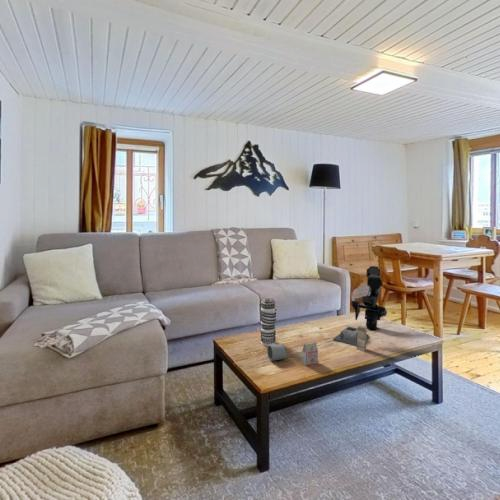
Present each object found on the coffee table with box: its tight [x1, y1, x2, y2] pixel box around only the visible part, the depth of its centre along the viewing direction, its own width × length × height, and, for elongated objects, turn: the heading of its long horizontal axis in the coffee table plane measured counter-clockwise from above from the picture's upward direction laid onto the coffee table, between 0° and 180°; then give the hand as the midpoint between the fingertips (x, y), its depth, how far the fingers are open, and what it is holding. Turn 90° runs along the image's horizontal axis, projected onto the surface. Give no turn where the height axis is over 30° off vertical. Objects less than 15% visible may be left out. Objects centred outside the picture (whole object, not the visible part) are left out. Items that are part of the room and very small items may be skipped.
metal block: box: [356, 324, 368, 352], centre depth 175 cm, size 4×4×12 cm
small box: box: [301, 341, 319, 367], centre depth 160 cm, size 4×7×10 cm, turn 113°
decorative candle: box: [259, 297, 277, 347], centre depth 183 cm, size 9×9×25 cm
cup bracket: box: [333, 325, 370, 347], centre depth 190 cm, size 18×14×6 cm
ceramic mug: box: [266, 343, 288, 362], centre depth 166 cm, size 11×8×8 cm
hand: (363, 321), depth 181 cm, fingers open, 9 cm apart
